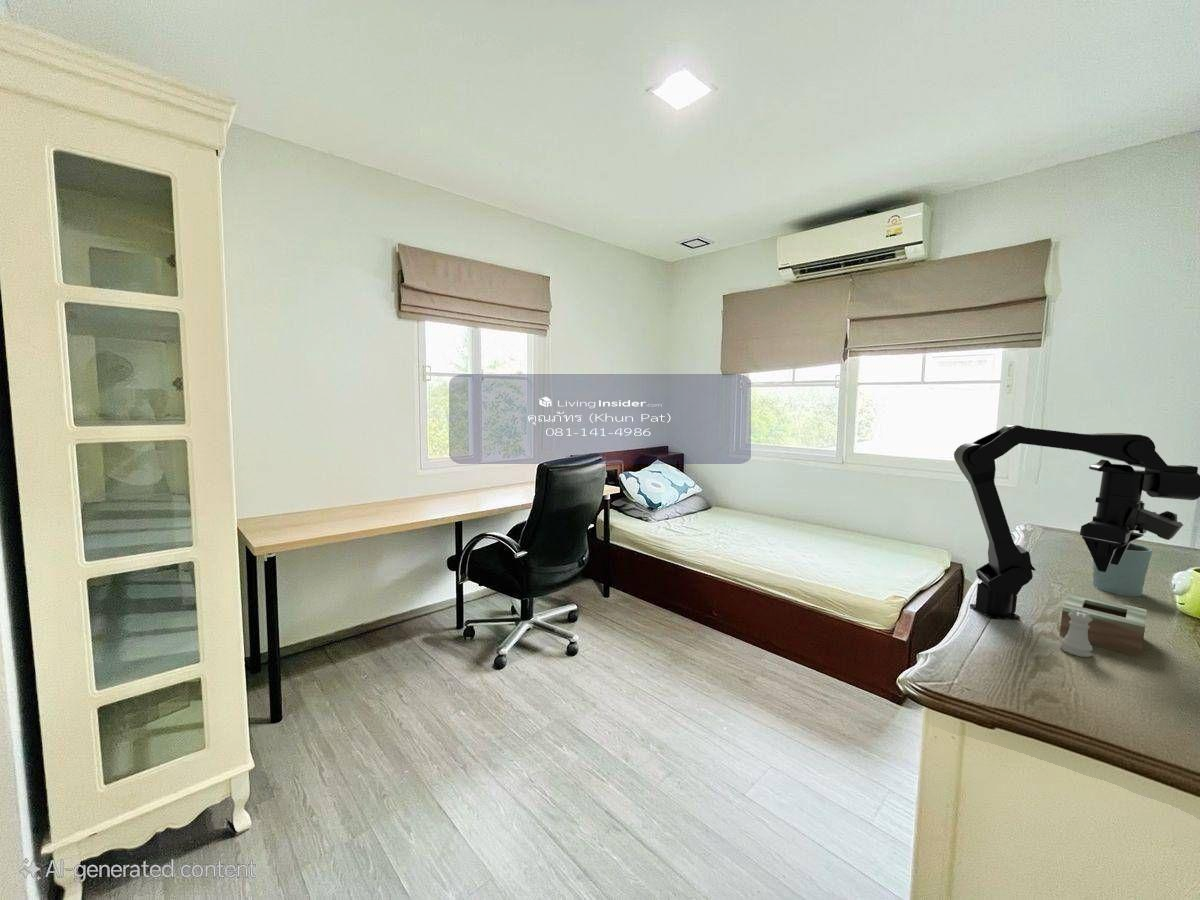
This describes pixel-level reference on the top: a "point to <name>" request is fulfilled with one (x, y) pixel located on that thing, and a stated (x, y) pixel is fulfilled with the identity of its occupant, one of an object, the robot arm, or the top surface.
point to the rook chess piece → (1078, 635)
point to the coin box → (1108, 623)
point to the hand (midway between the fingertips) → (1108, 567)
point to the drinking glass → (1125, 572)
